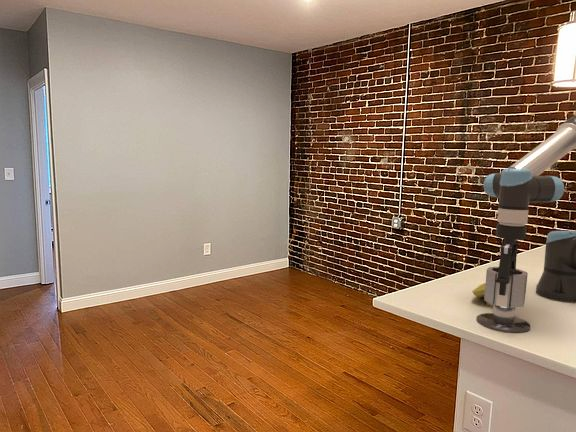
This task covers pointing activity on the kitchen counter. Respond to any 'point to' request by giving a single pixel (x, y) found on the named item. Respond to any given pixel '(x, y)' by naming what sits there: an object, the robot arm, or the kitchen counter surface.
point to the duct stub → (503, 320)
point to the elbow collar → (515, 287)
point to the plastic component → (480, 292)
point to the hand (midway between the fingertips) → (504, 300)
